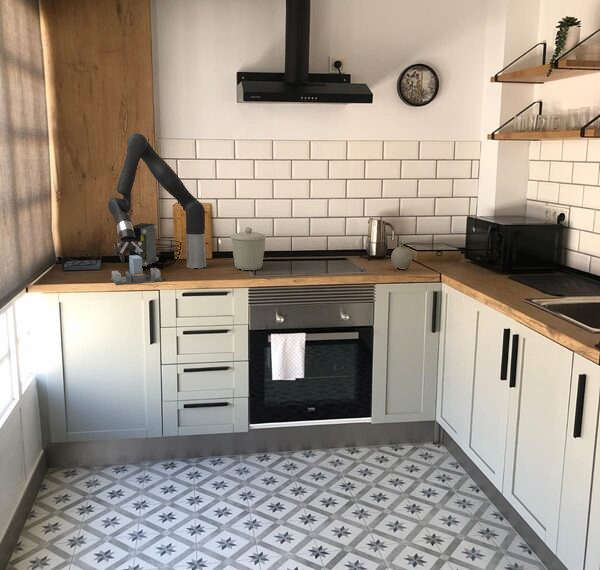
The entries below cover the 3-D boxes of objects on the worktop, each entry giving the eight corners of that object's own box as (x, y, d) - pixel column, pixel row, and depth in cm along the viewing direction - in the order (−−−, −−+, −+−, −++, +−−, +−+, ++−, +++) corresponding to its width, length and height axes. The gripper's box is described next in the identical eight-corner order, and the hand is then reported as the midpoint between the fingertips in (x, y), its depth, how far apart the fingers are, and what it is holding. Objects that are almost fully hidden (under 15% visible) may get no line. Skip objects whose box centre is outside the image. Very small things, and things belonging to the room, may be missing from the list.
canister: (231, 265, 360) (230, 224, 356) (266, 265, 362) (266, 224, 357) (229, 272, 343) (229, 229, 338) (266, 272, 344) (266, 230, 339)
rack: (110, 279, 323) (110, 270, 322) (155, 276, 333) (155, 266, 332) (116, 285, 313) (115, 275, 312) (162, 281, 322) (162, 271, 321)
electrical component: (145, 268, 349) (144, 228, 345) (126, 267, 351) (125, 227, 347) (159, 262, 366) (158, 224, 362) (141, 261, 368) (140, 223, 363)
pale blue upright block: (130, 276, 325) (129, 255, 323) (138, 276, 327) (137, 255, 325) (134, 280, 318) (133, 258, 316) (142, 279, 320) (142, 258, 318)
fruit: (405, 266, 365) (407, 238, 361) (414, 271, 354) (416, 241, 350) (386, 267, 362) (388, 238, 359) (395, 271, 351) (396, 242, 348)
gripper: (112, 228, 327) (118, 257, 320) (142, 227, 334) (149, 255, 326) (110, 238, 333) (116, 266, 326) (139, 236, 340) (146, 264, 332)
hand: (133, 260), depth 326 cm, fingers open, 8 cm apart
